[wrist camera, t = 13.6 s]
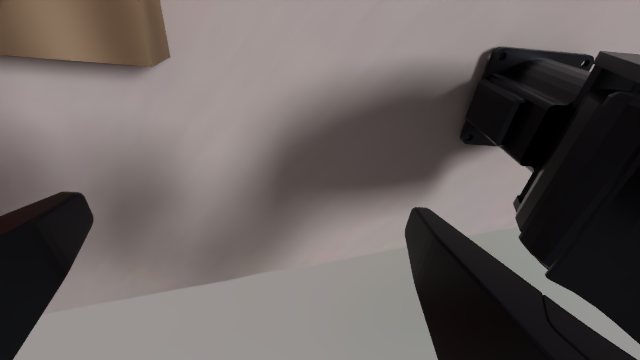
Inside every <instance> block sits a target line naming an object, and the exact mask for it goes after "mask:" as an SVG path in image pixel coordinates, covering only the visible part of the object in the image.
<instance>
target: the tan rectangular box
mask: <svg viewBox="0 0 640 360" xmlns="http://www.w3.org/2000/svg"><path fill="white" fill-rule="evenodd" d="M0 55H8V56H20V57H33V58H46V59H59V60H72V61H84V62H97V63H110V64H123V65H135V66H148V67H153V66H155V65H156V64H158V63H160V62H162V61H164V60H166V59H167V58H169V57H170V54H169V48H168V43H167V37H166V32H165V27H164V21H163V16H162V10H161V5H160V0H0Z"/></svg>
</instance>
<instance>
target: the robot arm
mask: <svg viewBox="0 0 640 360" xmlns="http://www.w3.org/2000/svg"><path fill="white" fill-rule="evenodd" d="M502 52H503V56H502V58H500V59H498V56H499V54H500V53H502ZM583 61H585V62H584V64H583V65H582V66H581V64H582V62H583ZM593 64H595V66H594V68H593V70H592V71H591V72H589V70H590V69H591V67H592V65H593ZM468 135H470V137H469V138H467V139H466V137H467V136H468ZM460 139H461V140H462V141H463V142H464V143H465V144H472V145H488V146H499V147H500V148H501V149H503V150H504V151H505V152H506V153H507V154H508V155H509V156H511V157H512V158H513V159H514V160H515V161H516V162H518V163H519V164H520V165H522V166H525V167H526V168H528V169H529V170H530V171H531V172H532V173H533V174H532V175H531V177H530V179H529V180H528V182H527V184H526V186H525V187H524V189H523V191H522V193H521V194H520V195H518V196H517V197H516V199H515V201H514V203H513V204H514V207H515V210H516V212H517V214H516V217H515V218H516V221H517V224H518V227H519V229H520V231H521V234H520V235H519V239H520V241H521V242H522V244H523V245H524V246H525V247H526V249H527V250H528V251H529V252H530V253H531V254H532V255H533V256H534V257H535V258H536V259H537V260H538V261H539V262H540V263H541V264H542V265H543V266H544V267H546V268H547V269H548V271H547V272H546V274H545V276H546V277H547V278H548V279H549V280H551V281H553V282H555V283H557V284H559V285H561V286H563V287H565V288H567V289H569V290H570V291H572V292H574V293H576V294H577V295H579V296H580V297H582V298H583V299H585V300H586V301H587V302H589V303H590V304H592V305H593V306H595V307H596V308H598V309H599V310H600V311H601V312H603V313H604V314H605V315H606V316H608V317H609V318H610V319H611V320H612V321H614V322H615V323H616V324H617V325H618V326H619V327H621V328H622V329H623V330H624V331H625V332H626V333H628V334H629V335H630V336H631V337H632V338H633V339H634V340H635V341H637V342H638V343H639V344H640V55H638V54H627V53H616V52H606V51H600V52H599V54H598V56H597V57H596V59H595V61H594V58H593V56H590V55H586V54H578V53H567V52H556V51H545V50H534V49H523V48H512V47H498V48H496V49H495V50H494V51H493V52H492V54H491V57H490V59H489V62H488V64H487V67H486V70H485V72H484V75H483V77H482V80H481V81H480V82H479V83H478V86H477V89H476V91H475V94H474V97H473V99H472V102H471V105H470V107H469V110H468V112H467V115H466V122H465V124H464V127H463V130H462V132H461V135H460ZM92 224H93V214H92V212H91V210H90V208H89V205H88V203H87V201H86V199H85V197H84V195H83V194H81V193H79V192H60V193H58V194H55V195H53V196H50V197H48V198H45V199H43V200H40V201H37V202H35V203H32V204H30V205H27V206H25V207H22V208H20V209H17V210H15V211H12V212H10V213H7V214H5V215H2V216H0V360H13V359H14V357H15V355H16V354H17V353H18V351H19V349H20V348H21V346H22V345H23V343H24V342H25V340H26V338H27V337H28V335H29V334H30V332H31V331H32V329H33V328H34V326H35V324H36V323H37V321H38V320H39V318H40V317H41V315H42V314H43V312H44V310H45V309H46V307H47V306H48V304H49V303H50V301H51V300H52V298H53V296H54V295H55V293H56V292H57V290H58V289H59V287H60V286H61V284H62V282H63V281H64V279H65V277H66V276H67V274H68V272H69V270H70V268H71V266H72V264H73V263H74V261H75V259H76V257H77V255H78V253H79V251H80V249H81V247H82V245H83V243H84V241H85V239H86V237H87V235H88V233H89V231H90V229H91V227H92ZM405 238H406V243H407V248H408V254H409V259H410V264H411V269H412V275H413V279H414V284H415V287H416V291H417V294H418V297H419V301H420V304H421V307H422V310H423V313H424V316H425V320H426V323H427V326H428V329H429V332H430V336H431V339H432V342H433V345H434V348H435V351H436V355H437V358H438V360H637V359H635V358H634V357H632V356H631V355H629V354H628V353H626V352H625V351H623V350H622V349H620V348H619V347H617V346H616V345H615V344H613V343H612V342H610V341H609V340H607V339H606V338H604V337H603V336H601V335H600V334H598V333H597V332H595V331H594V330H593V329H591V328H590V327H588V326H587V325H585V324H584V323H582V322H581V321H580V320H578V319H577V318H576V317H574V316H573V315H571V314H570V313H569V312H567V311H566V310H564V309H563V308H562V307H560V306H559V305H558V304H556V303H555V302H554V301H552V300H551V299H550V298H548V297H547V296H546V295H542V293H541V292H540V291H539V290H537V289H536V288H535V287H533V286H532V285H531V284H529V283H528V282H527V281H525V280H524V279H523V278H521V277H520V276H519V275H517V274H516V273H514V272H513V271H512V270H511V269H509V268H508V267H506V266H505V265H504V264H502V263H501V262H500V261H498V260H497V259H496V258H494V257H493V256H492V255H490V254H489V253H488V252H486V251H485V250H483V249H482V248H481V247H479V246H478V245H477V244H476V243H474V242H473V241H472V240H470V239H469V238H468V237H466V236H465V235H463V234H462V233H461V232H459V231H458V230H457V229H455V228H454V227H453V226H451V225H450V224H449V223H447V222H446V221H445V220H443V219H442V218H441V217H439V216H438V215H437V214H435V213H434V212H433V211H431V210H430V209H428V208H421V207H415V208H413V209H412V210H411V213H410V216H409V219H408V222H407V225H406V228H405Z"/></svg>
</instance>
